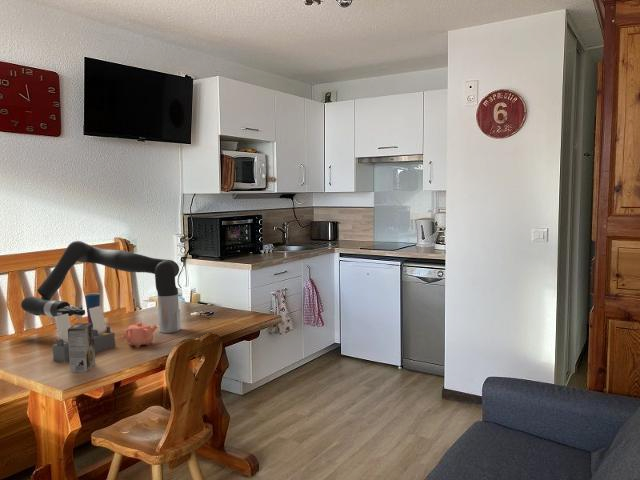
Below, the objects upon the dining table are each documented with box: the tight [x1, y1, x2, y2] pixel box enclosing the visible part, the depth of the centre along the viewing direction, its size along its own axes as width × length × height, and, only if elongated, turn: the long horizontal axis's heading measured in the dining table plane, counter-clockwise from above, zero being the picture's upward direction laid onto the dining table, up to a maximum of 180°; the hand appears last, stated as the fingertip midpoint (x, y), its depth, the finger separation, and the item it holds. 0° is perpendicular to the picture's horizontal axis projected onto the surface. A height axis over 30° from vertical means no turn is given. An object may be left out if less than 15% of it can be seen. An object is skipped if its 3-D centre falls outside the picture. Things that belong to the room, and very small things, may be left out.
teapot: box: [123, 321, 158, 349], centre depth 231 cm, size 12×12×10 cm
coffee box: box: [68, 322, 96, 373], centre depth 200 cm, size 9×6×16 cm
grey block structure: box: [52, 325, 116, 363], centre depth 220 cm, size 7×24×8 cm, turn 152°
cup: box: [84, 292, 101, 323], centre depth 270 cm, size 7×7×15 cm
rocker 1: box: [53, 313, 72, 344], centre depth 213 cm, size 2×5×11 cm, turn 151°
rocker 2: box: [89, 305, 107, 334], centre depth 227 cm, size 2×5×11 cm, turn 152°
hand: (83, 312), depth 231 cm, fingers closed
